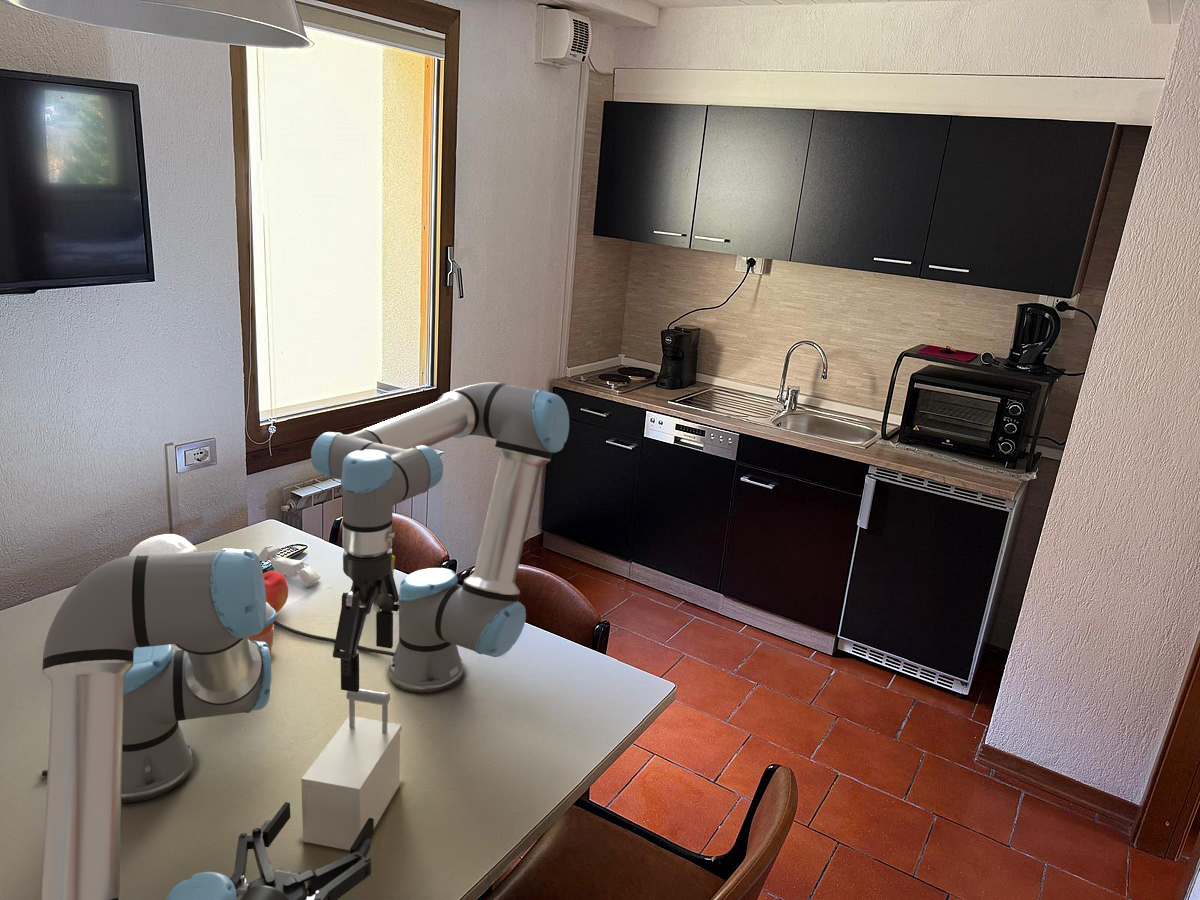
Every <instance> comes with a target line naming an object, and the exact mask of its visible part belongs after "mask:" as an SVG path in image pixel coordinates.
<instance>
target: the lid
mask: <svg viewBox="0 0 1200 900" xmlns="http://www.w3.org/2000/svg"><path fill="white" fill-rule="evenodd" d="M390 694H391V693H387V692H382V691H376V690H370V689H365V688H364V689H363V688H359V691H358V692H352V691H347V692H346V700H348V716H347V718H346V719H345V720H344V722H343V723H342V725H341V726H340V727H339V728H338V730H337V731H336V733H334V734H333V736H332V737H331V739H330V740H329V742H328V743H327V744H326V746H324V748H323V749H322V751H321V752H320V753H319V755H318V756H317V757H316V758H315V760H314V761H313V762H312V764H311V765H310V766H309V768H308V769H307V771H305V773H304V774H303V776H302V777H301V779H300V780H301V781H300V783H301V785H302V784H303V785H308V786H314V787H319V788H325V789H330V790H336V791H341V792H347V793H352V794H358V795H360V794H361V792H362V791H363V789H364V788H365V786H366V784H367V783H368V781H369V780H370V778H371V777H372V775H373V774H374V772H375V770H376V769H377V767H378V766H379V764H380V763H381V761H382V759H383V758H384V756H385V755H386V753H387V752H388V750H389V749H390V747H391V745H392V744H393V742H394V741H395V739H396V738H397V736H398V735H399V733H400V734H401V731H402V728H403V727H402V724H401V723H394V722H390V721H388V720H389V719H388V717H389V716H388V713H389V711H388V708H389V707H388V706H389V703H390V701H391V695H390ZM355 702H360V703H367V704H372V705H373V704H374V705H379V706H381V720H377V719H370V718H365V717H359V716H356V711H355V709H356V703H355Z"/></svg>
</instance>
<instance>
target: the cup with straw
mask: <svg viewBox="0 0 1200 900" xmlns="http://www.w3.org/2000/svg"><path fill="white" fill-rule="evenodd" d="M277 617H278V616H277V613H276V611H275V610H274V609H273V608H272V607H271V606H270V605H269V604H268V603H267V602H266V621H265V625H264V629H263V630H262V632H261V633H259V634H257V635H254V636H250V637H248V639H249V640H250V641H258V642H261V641H262V642H265V643H267V644H268V647H269V651H270V658H271V657H272V647H273V644H274V629H275V625H274V624H273V622H274V621H277ZM271 659H272V658H271Z"/></svg>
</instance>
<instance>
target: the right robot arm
mask: <svg viewBox="0 0 1200 900" xmlns="http://www.w3.org/2000/svg"><path fill="white" fill-rule="evenodd" d="M569 432H570V415H569V410H568V406H567V404H566V402H565V401H564V399H563V398H562V397H561V396H559V394H556V393H553V392H550V391H546V390H544V389H537V388H530V387H523V386H521V385H520V386H519V385H514V384H507V383H504V382H499V381H489V382H481V383H475V384H470V385H467V386H463V387H459V388H456V389H453V390H450V391H448V392H445V393H443V394H442V395H440V396H439V398H438V399H437V400H436V401H435V402H433V403H430V404H428V405H424V406H421V407H420V408H417V409H414V410H411V411H409V412H406V413H403V414H401V415H398V416H396V417H393V418H390V419H387V420H385V421H381V422H379V423H377V424H374V425H371V426H369V427H366V428H363V429H361V430H358V431H354V432H351V433H349V434H343V433H342V432H333V431H327V432H323V433H322V434H320V435H319V436H318V437H317V438H316V439H315V441H314V442H313V445H312V446H311V452H310V456H311V457H310V459H311V460H310V462H311V465H312V467H313V468H314V470H315V471H316V472H317V473H319V474H321V475H324V476H327V477H329V478H330V479H333V480H335V479H336V480H340V485H341V499H342V549H343V551H342V570H343V573H344V574H345V576H347V577H348V578H349V579H350V580H351V581H352V582H351V583H352V584H351V587H350V591H349V592H345V591H344V592H343V593H342V594H341V606H340V607H341V608H340V612H339V613H340V614H339V620H338V623H337V628H336V629H337V630H336V636H335V638H332V637H327V636H321V635H315V634H312V633H307V632H304V631H301V630H297V629H296V628H292V627H289V626H287V625H285V624H283V623H281V622H279V621H277V620H275V621H274V622H273V625H274V626H276V627H278V628H280V629H281V630H284V631H287V632H289V633H291V634H294V635H298V636H300V637H305V638H308V639H311V640H312V639H313V640H317V641H323V642H328V643H334V645H333V650H332V657H333V658H334V659H340V691H341V690H342V691H352V692H358V691H359V689H360V653H358V652H357V651H358V650H359V651H363V652H367V653H372V654H380V655H384V656H390V657H392V659H391V660H390V665H389V679H390V681H391V682H392V683H393V684H394V685H395V686H396V687H398V688H399V689H401V690H404V691H407V692H410V693H416V694H430V693H431V694H432V693H438V692H441V691H445V690H447V689H450V688H451V687H453V686H455V685H456V684H457V683H458V682H459V681H460V680H461V679H462V676H463V672H464V664H463V660H462V657H461V656H460V653H459V649H458V646H459V647H461V648H464V649H466V650H470V651H472V652H475V653H476V654H478V655H486V656H488V657H493V658H498V657H502V656H503V655H505V654H506V653H508V652H509V651H510V650H511V649H512V648H513V647H514V645H515V644H516V643H517V641H518V640H519V638H520V636H521V634H522V631H523V629H524V627H525V624H526V620H527V613H526V611H527V609H526V607H525V605H524V604H522V602H521V601H519V600H520V595H521V590H520V589H519V587H518V586H517V583H516V579H517V574H518V572H519V571H518V570H519V566H520V562H521V557H522V553H523V549H524V545H525V540H526V536H527V533H528V527H529V523H530V520H531V519H530V518H531V514H532V510H533V505H534V501H535V496H536V492H537V488H538V484H539V480H540V476H541V471H542V468H543V467H544V466H545V465H547V464H549V462H551V461H552V457H553V456H552V455H553V454H554V453H558V452H561V451H562V450H563V448H564V446H565V444H566V443H567V440H568V437H569ZM468 436H479V437H483V438H484V437H485V438H490V439H493V440H496V441H495V446H494V449H495V451H496V453H497V454H498V457H499V461H498V465H497V470H496V473H495V474H496V475H495V478H494V483H493V487H492V491H491V495H490V499H489V504H488V508H487V513H486V518H485V522H484V525H483V526H484V527H483V531H482V534H481V538H480V543H479V547H478V551H477V555H476V560H475V565H474V568H473V572H472V574H471V575H469V576H468V577H466V578H464V579H463V582H462V584H458V582H459V581H458V580H459V579H458V576H457V574H456V572H455V571H453V570H452V569H449V568H445V567H429V568H423V569H418V570H416V571H413V572H410V573H409V574H407V575H406V576H404V577H403V579H402V580H401V581H400V584H399V591H398V589H397V584H396V581H395V577H394V572H393V573H392V554H393V549H392V546H393V539H394V538H395V535H396V534H395V532H394V531H393V511H394V510H393V509H394V506H395V505H398V504H400V503H402V502H404V501H407V500H409V499H411V498H413V497H417V496H418V495H422V494H424V493H426V492H428V490H431V488H434V487H435V486H437V485H438V484H439V483H440V481H441V480H442V477H443V474H444V465H443V461H442V458H441V456H440V455H439V453H438V452H437V451H436V450H435V449H433V448H432V446H435V445H437V444H440V443H442V442H445V441H446V440H449V439H450V438H453V439H463V438H465V437H468ZM374 603H375V605H376V606H377V608H378V609H377V611H376V612H375V616H376V617H375V618H376V619H375V623H376V624H375V630H376V631H375V640H376V641H375V647H378V648H383V649H384V648H385V649H390V650H392V649H393V648H394V612H396V613H397V612H398V643H397V645H396V648H395V651H394V652H393V651H388V650H383V649H377V648H371V647H367V646H363V645H360V641H361V637H362V633H363V630H364V625H365V622H366V619H367V615H370V614H371V612H372V608H373V604H374Z"/></svg>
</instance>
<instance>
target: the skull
mask: <svg viewBox="0 0 1200 900" xmlns="http://www.w3.org/2000/svg"><path fill="white" fill-rule="evenodd" d="M190 552H199V550H198V548H197V547H196V546H194V545H193V543H191V542H190V541H188V540H187V539H186V538H185V537H184V536H181V535H179V534H174V533H164V534H158V535H154V536H150V537H149V538H146V539H144V540H142V541H140V542H139V543H138V544H137V545H135V546H134V547H133V548H132V550H131V551H130V552H129V554H128V556H136V555H139V556H146V555H160V554H175V553H190Z"/></svg>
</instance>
